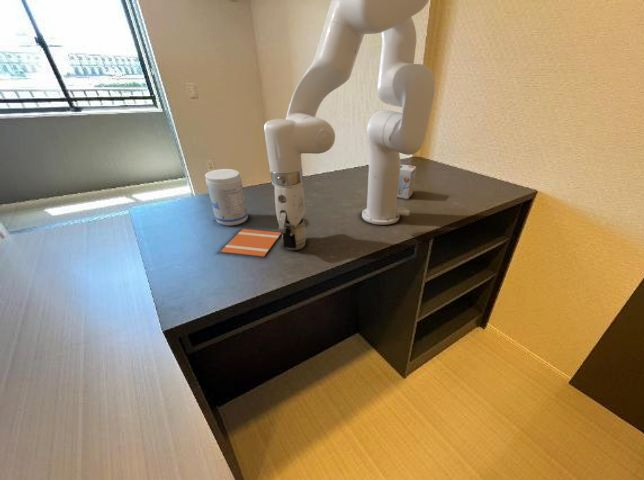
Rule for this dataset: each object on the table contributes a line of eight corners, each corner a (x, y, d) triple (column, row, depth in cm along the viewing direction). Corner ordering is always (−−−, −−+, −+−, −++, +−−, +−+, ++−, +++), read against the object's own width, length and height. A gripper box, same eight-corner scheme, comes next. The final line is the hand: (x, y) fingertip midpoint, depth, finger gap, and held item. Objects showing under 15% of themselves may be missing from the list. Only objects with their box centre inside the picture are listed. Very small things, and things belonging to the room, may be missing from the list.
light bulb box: (382, 194, 116) (384, 166, 110) (387, 189, 121) (389, 162, 115) (408, 199, 113) (412, 171, 107) (413, 193, 118) (416, 166, 112)
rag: (281, 233, 88) (281, 232, 88) (264, 257, 78) (264, 255, 78) (243, 229, 89) (242, 228, 89) (220, 252, 79) (220, 251, 79)
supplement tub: (210, 219, 94) (197, 173, 85) (238, 210, 100) (228, 166, 91) (227, 230, 89) (215, 181, 80) (254, 219, 95) (246, 173, 86)
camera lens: (285, 252, 80) (282, 226, 76) (281, 241, 85) (278, 215, 80) (308, 248, 82) (306, 222, 78) (303, 237, 87) (301, 212, 82)
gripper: (290, 190, 65) (298, 259, 75) (311, 167, 79) (315, 227, 89) (257, 187, 66) (269, 256, 76) (284, 165, 80) (291, 225, 90)
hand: (294, 240), depth 83 cm, fingers closed on camera lens, 6 cm apart
